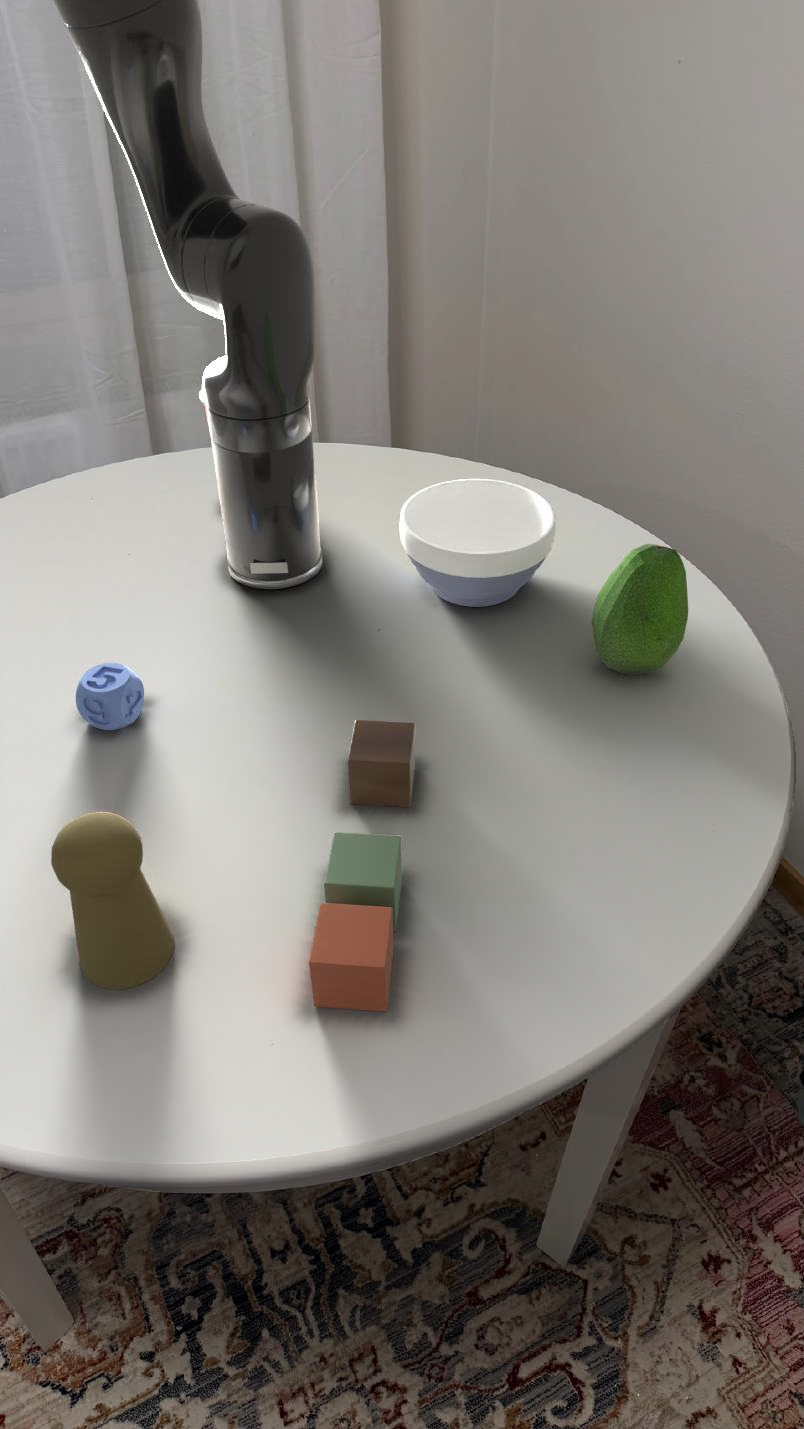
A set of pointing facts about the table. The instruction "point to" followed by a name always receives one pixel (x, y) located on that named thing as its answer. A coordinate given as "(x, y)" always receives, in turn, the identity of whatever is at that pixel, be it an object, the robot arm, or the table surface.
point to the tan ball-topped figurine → (111, 901)
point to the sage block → (365, 871)
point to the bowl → (477, 538)
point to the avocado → (642, 611)
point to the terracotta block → (352, 957)
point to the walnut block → (382, 763)
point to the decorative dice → (110, 696)
